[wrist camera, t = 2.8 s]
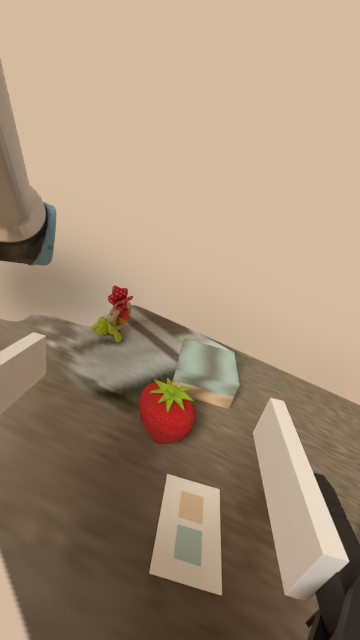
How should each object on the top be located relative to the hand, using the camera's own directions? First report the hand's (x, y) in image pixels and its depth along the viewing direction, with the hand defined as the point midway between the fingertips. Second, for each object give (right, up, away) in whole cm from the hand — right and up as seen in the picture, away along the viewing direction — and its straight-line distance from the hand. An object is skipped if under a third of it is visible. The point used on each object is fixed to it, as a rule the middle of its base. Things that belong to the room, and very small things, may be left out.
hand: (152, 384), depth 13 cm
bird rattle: (-13, +1, +37) cm, 39 cm away
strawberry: (-1, -12, +16) cm, 20 cm away
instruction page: (+3, -16, +9) cm, 18 cm away
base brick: (+5, -8, +29) cm, 30 cm away
